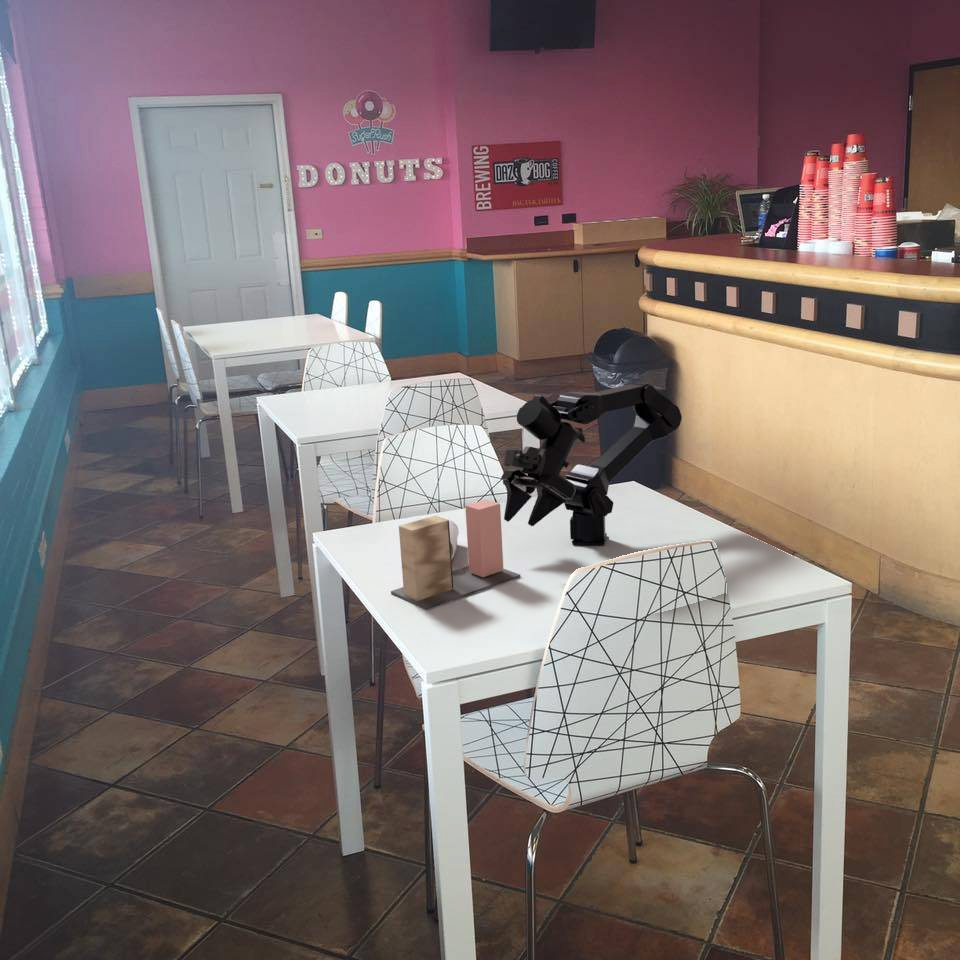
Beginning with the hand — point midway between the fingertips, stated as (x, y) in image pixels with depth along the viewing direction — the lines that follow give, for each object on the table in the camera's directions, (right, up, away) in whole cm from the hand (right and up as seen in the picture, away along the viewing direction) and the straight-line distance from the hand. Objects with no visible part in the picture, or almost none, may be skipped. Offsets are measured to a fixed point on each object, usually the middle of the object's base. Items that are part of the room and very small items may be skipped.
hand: (517, 522), depth 196 cm
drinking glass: (-14, -2, +16) cm, 21 cm away
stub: (-6, -10, -3) cm, 12 cm away
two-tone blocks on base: (-11, -11, -7) cm, 17 cm away
